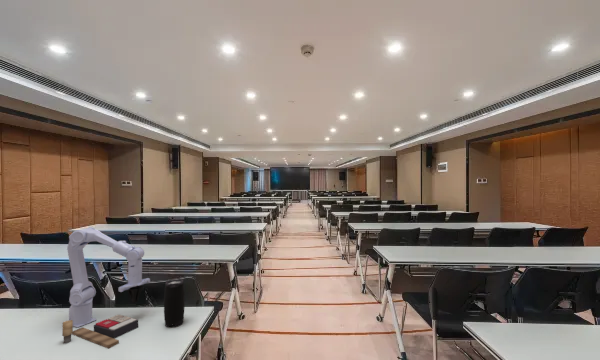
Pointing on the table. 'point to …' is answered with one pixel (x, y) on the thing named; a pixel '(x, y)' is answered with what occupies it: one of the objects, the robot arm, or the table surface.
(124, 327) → the calculator
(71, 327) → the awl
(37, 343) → the table surface
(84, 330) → the board
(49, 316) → the table surface
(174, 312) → the portable speaker
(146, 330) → the table surface
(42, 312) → the table surface
